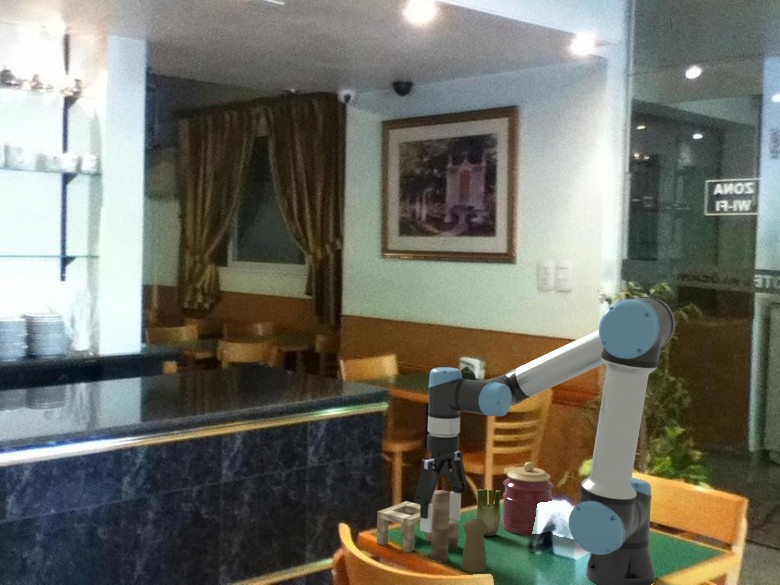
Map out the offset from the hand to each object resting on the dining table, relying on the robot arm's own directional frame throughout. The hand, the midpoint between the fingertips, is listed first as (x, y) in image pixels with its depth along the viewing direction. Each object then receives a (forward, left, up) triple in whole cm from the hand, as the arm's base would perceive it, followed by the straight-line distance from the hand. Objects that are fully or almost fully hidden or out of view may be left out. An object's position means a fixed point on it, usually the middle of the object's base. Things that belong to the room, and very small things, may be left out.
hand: (440, 525), depth 224 cm
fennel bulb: (+1, -23, -8) cm, 25 cm away
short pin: (+3, -9, -8) cm, 13 cm away
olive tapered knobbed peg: (-9, -1, -8) cm, 12 cm away
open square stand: (+13, -5, -8) cm, 16 cm away
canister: (-4, -35, -8) cm, 36 cm away
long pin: (0, 0, -8) cm, 8 cm away
